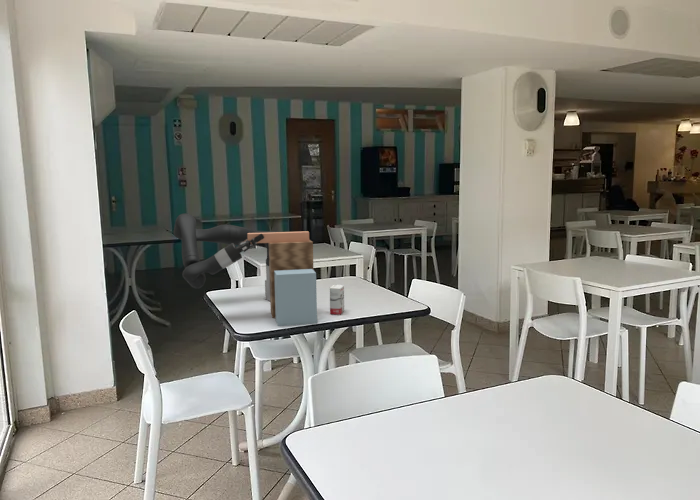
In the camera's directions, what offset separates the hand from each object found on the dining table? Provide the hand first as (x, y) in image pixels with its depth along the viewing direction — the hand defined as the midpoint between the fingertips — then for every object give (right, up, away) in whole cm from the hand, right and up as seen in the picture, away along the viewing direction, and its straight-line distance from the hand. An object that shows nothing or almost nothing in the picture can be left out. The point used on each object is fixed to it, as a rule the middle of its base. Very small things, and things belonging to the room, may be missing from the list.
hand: (262, 234), depth 234 cm
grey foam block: (+15, -36, -5) cm, 39 cm away
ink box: (+32, -34, +9) cm, 48 cm away
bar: (+7, -3, +2) cm, 7 cm away
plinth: (+12, -34, +7) cm, 37 cm away
